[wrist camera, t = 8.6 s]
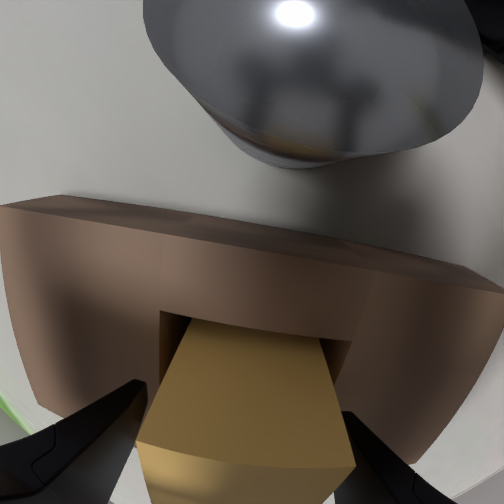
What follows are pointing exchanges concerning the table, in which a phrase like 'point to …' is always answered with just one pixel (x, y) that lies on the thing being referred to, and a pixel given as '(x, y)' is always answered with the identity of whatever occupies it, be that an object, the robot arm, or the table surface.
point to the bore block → (240, 308)
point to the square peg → (244, 421)
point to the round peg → (322, 72)
